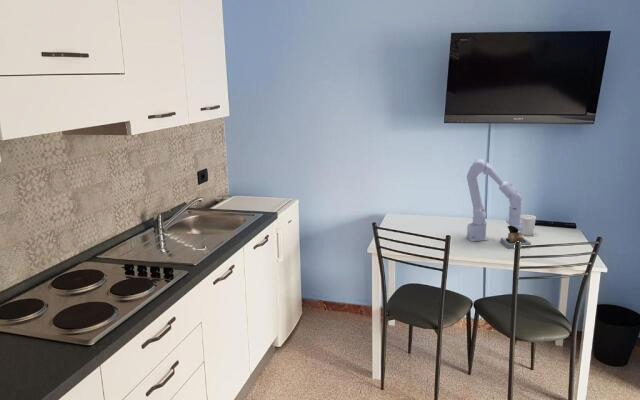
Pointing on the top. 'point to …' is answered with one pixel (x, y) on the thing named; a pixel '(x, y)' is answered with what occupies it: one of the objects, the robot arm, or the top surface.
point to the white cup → (527, 224)
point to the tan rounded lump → (514, 238)
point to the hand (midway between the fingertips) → (513, 239)
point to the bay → (511, 246)
